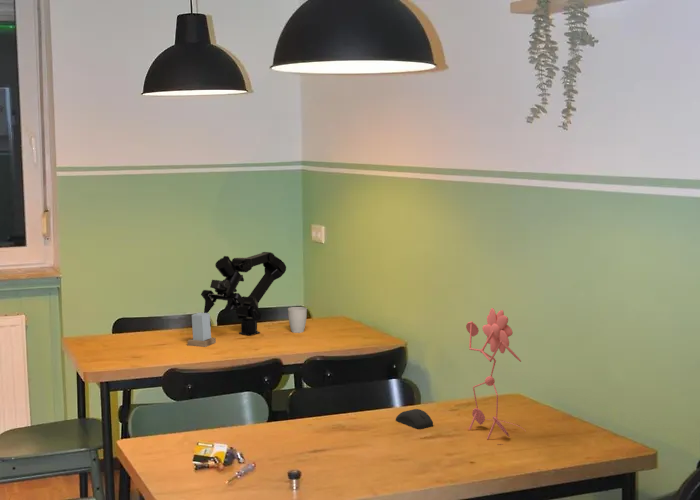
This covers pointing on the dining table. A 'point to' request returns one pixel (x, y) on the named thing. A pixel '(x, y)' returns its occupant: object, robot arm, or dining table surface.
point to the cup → (297, 318)
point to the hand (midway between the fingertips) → (213, 315)
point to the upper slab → (201, 342)
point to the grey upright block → (201, 326)
